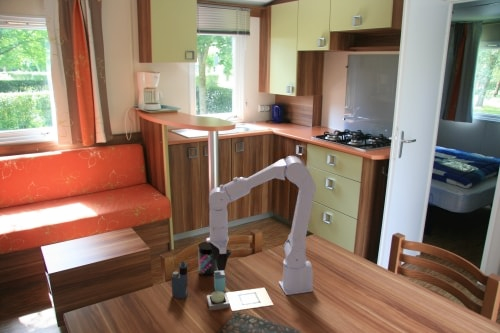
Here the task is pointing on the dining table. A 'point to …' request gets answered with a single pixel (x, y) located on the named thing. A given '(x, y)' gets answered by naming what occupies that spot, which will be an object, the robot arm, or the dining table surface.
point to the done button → (217, 297)
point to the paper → (249, 299)
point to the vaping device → (180, 282)
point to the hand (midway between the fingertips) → (219, 264)
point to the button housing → (218, 306)
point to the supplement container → (206, 259)
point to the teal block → (219, 281)
